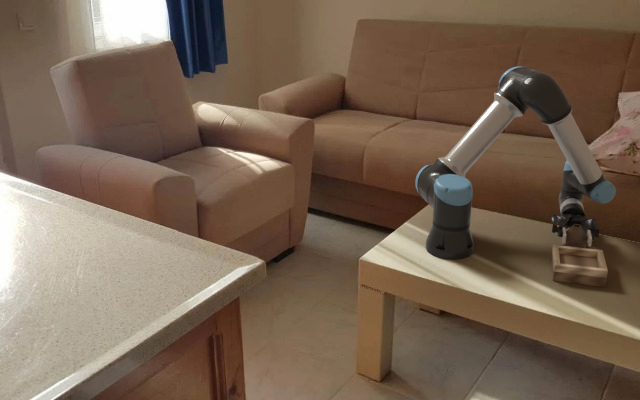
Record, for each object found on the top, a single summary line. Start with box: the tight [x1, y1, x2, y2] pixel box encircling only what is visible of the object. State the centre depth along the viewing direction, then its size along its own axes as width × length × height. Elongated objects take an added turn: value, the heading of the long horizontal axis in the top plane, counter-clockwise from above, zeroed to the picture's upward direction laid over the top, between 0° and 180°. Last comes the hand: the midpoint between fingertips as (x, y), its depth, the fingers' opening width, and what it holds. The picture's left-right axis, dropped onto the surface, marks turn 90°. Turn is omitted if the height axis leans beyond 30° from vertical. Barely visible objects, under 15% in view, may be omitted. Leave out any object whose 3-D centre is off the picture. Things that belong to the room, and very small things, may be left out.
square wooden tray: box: [550, 244, 609, 288], centre depth 183 cm, size 14×14×5 cm
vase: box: [562, 224, 587, 248], centre depth 196 cm, size 7×7×9 cm
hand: (577, 241), depth 190 cm, fingers closed on vase, 7 cm apart
